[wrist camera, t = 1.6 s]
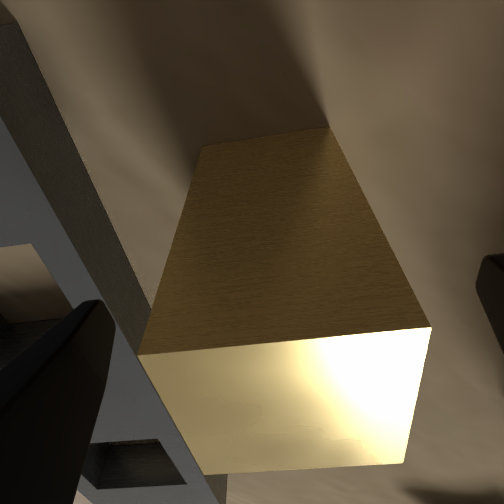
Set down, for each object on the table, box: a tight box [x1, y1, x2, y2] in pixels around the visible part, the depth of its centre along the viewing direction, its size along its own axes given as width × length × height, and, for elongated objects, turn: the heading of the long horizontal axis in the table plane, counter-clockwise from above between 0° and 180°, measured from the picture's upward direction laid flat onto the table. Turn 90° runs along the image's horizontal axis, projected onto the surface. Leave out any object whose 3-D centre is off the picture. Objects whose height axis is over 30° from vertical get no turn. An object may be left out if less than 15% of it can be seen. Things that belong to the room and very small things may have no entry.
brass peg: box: [137, 126, 431, 475], centre depth 9 cm, size 4×4×8 cm
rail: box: [0, 23, 228, 504], centre depth 17 cm, size 8×28×2 cm, turn 9°
